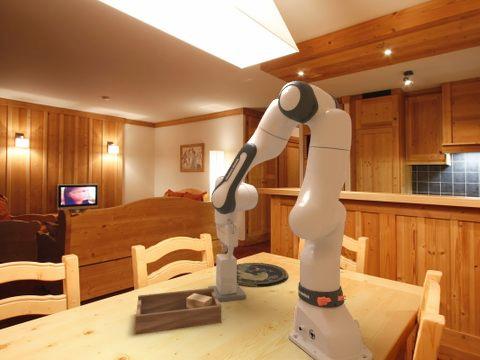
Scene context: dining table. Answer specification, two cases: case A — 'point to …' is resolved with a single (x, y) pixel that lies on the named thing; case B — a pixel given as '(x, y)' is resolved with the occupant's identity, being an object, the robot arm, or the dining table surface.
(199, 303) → the offcut upper
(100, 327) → the dining table surface
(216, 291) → the plate
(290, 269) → the dining table surface
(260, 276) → the decorative plate
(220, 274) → the small box
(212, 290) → the tray
